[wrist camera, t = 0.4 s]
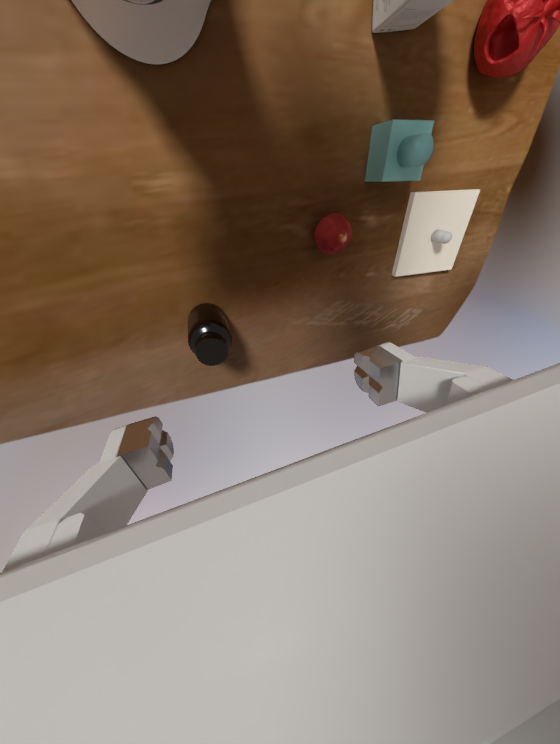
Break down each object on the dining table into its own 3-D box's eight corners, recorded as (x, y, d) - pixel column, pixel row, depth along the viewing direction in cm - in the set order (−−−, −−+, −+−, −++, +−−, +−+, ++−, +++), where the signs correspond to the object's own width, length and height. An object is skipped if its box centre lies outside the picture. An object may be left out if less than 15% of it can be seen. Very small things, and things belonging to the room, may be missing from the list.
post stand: (410, 192, 45) (430, 193, 41) (474, 189, 48) (498, 189, 44) (391, 275, 53) (406, 281, 49) (446, 268, 56) (465, 274, 52)
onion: (344, 233, 45) (369, 241, 39) (318, 256, 47) (339, 268, 40) (328, 202, 42) (353, 206, 36) (301, 228, 43) (320, 236, 37)
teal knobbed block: (372, 125, 38) (408, 114, 32) (410, 126, 39) (451, 116, 33) (364, 181, 42) (395, 181, 36) (399, 180, 43) (434, 180, 37)
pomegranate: (543, -20, 34) (639, -74, 27) (501, 89, 40) (571, 69, 33) (488, -43, 31) (577, -109, 24) (451, 78, 37) (515, 53, 30)
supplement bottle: (232, 310, 48) (243, 342, 38) (217, 341, 50) (224, 377, 41) (195, 295, 44) (198, 325, 35) (181, 328, 47) (181, 364, 38)
